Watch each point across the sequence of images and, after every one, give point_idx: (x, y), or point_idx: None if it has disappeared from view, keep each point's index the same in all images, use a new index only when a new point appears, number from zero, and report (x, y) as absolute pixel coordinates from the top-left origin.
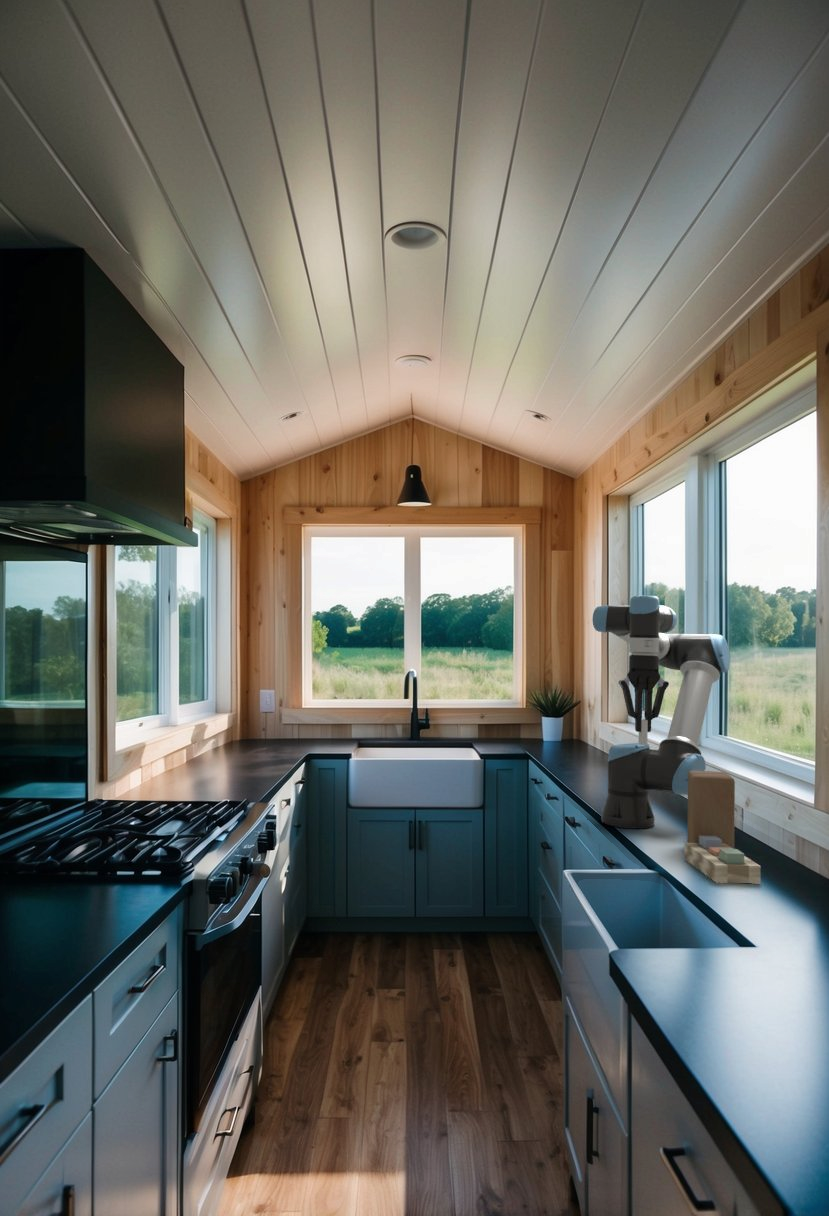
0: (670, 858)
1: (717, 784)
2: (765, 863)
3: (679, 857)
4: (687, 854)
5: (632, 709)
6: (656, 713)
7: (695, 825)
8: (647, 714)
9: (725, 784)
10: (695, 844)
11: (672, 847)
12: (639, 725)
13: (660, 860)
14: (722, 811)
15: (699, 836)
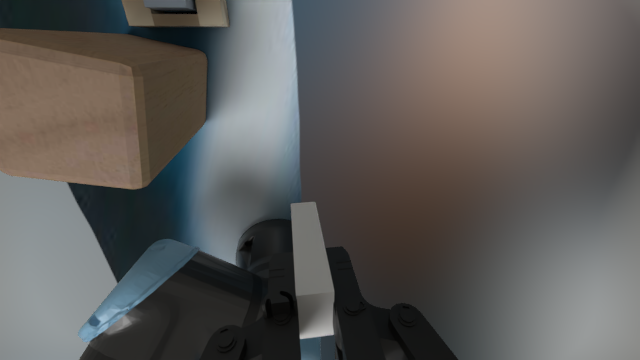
0: (256, 32)
1: (49, 40)
2: (55, 3)
3: (237, 41)
4: (224, 7)
5: (430, 357)
6: (222, 357)
7: (185, 54)
8: (298, 337)
9: (12, 32)
10: (201, 10)
11: (235, 114)
12: (338, 272)
13: (280, 14)
14: (91, 37)
15: (186, 4)
